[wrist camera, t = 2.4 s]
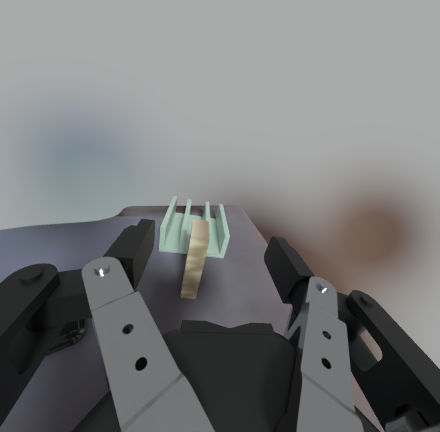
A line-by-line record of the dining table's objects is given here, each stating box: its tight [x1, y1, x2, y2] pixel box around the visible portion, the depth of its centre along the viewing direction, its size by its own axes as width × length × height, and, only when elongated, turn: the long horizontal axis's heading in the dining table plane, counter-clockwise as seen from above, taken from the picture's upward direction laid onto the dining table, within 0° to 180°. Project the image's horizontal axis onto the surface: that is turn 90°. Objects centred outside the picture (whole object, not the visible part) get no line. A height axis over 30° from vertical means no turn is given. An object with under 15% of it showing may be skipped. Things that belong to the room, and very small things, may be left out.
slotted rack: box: [159, 196, 230, 258], centre depth 42 cm, size 14×16×6 cm
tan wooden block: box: [180, 219, 210, 299], centre depth 27 cm, size 2×5×12 cm, turn 4°
